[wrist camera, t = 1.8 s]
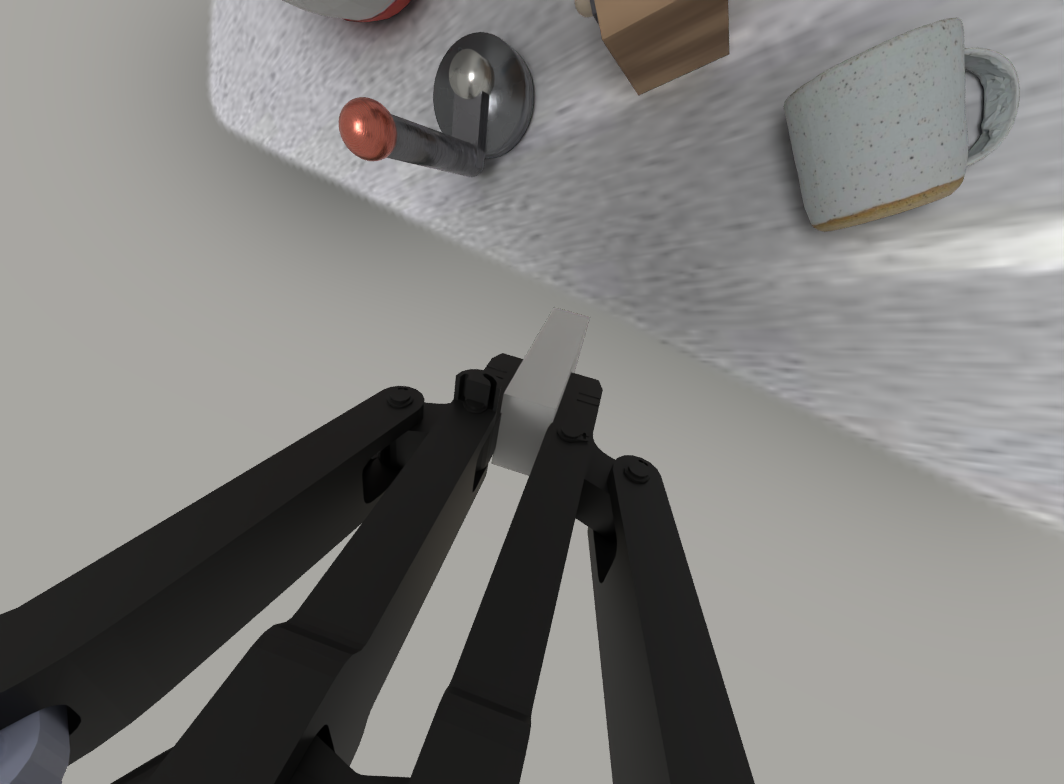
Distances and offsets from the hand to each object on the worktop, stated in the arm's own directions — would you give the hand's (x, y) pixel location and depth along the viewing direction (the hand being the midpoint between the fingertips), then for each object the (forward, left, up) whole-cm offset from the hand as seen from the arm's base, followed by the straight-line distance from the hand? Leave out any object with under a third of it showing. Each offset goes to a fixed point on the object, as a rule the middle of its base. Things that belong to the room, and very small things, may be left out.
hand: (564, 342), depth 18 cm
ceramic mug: (-6, +16, -20) cm, 26 cm away
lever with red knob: (-17, -10, -20) cm, 28 cm away
